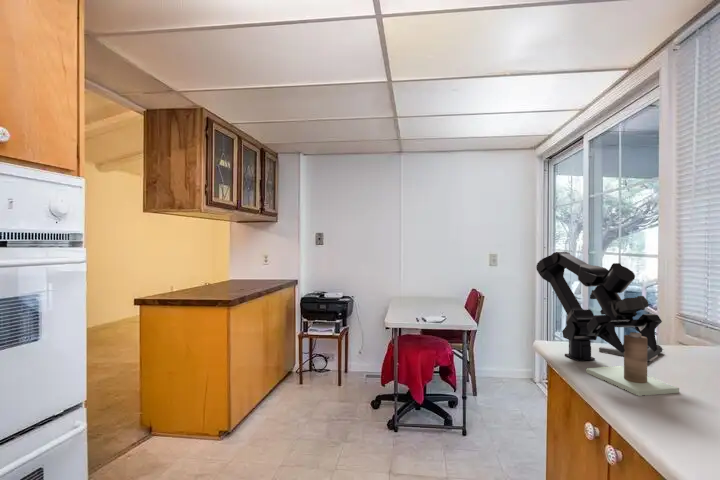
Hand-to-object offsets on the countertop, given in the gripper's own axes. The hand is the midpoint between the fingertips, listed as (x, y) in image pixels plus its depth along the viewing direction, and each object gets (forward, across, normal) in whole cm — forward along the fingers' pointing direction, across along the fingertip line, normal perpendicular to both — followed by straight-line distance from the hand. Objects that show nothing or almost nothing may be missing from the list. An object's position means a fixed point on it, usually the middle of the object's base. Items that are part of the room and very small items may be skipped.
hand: (639, 351), depth 109 cm
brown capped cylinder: (+5, 0, +7) cm, 8 cm away
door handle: (-13, +19, +27) cm, 35 cm away
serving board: (+4, 0, +9) cm, 10 cm away
